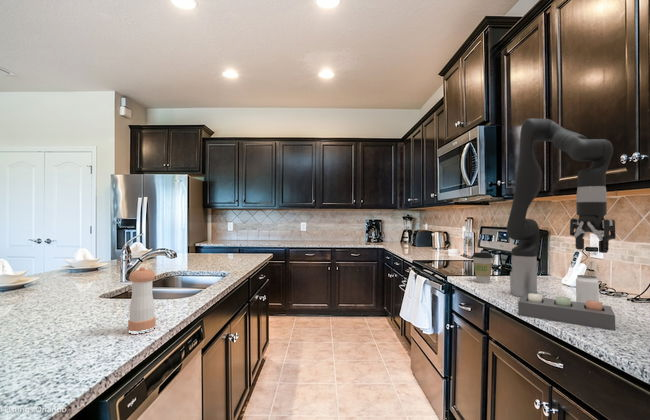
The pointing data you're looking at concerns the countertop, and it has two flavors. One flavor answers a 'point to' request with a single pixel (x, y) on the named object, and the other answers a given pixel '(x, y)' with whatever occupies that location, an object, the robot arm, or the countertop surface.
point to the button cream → (535, 297)
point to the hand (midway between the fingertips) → (591, 250)
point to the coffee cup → (482, 266)
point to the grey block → (587, 288)
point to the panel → (567, 313)
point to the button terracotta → (594, 305)
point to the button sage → (563, 301)
